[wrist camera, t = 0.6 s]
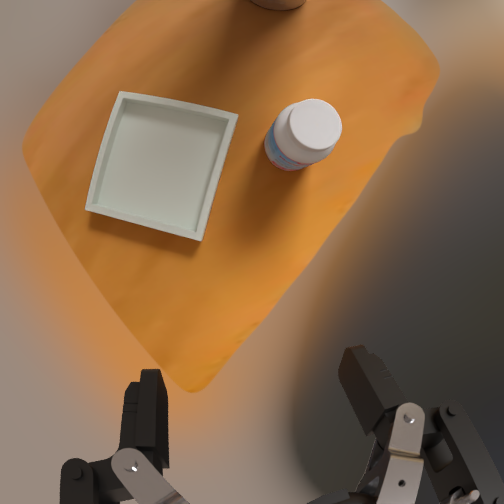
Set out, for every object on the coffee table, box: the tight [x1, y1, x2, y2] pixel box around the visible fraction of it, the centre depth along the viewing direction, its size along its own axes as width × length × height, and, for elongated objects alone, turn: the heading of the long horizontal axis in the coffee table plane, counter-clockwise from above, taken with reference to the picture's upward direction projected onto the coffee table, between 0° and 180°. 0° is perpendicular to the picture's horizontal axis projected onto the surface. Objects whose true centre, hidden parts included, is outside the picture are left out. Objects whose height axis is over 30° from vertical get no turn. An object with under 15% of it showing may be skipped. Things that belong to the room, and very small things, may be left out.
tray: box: [85, 91, 239, 241], centre depth 31 cm, size 15×15×2 cm
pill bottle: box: [264, 99, 342, 171], centre depth 28 cm, size 6×6×11 cm
